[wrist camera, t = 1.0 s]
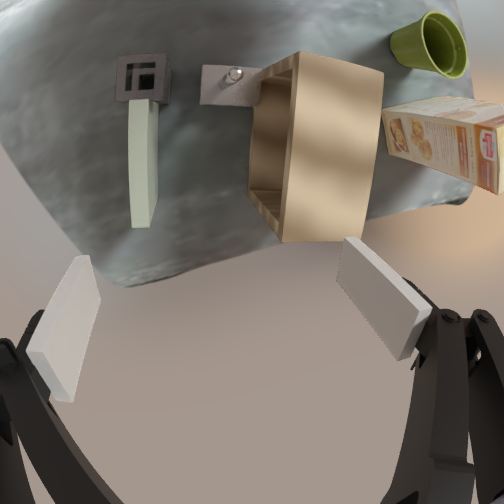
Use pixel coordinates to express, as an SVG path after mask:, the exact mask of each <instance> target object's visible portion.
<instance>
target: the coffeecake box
mask: <svg viewBox="0 0 504 504" xmlns="http://www.w3.org/2000/svg"><path fill="white" fill-rule="evenodd" d="M381 116H382V120H383V125H384V129H385V135H386V142H387V147H388V152H389V155H393V156H396V157H400V158H403V159H406V160H409V161H412V162H415V163H418V164H421V165H424V166H427V167H430V168H433V169H435V170H438V171H441V172H443V173H446V174H449V175H451V176H454V177H456V178H459V179H462V180H464V181H466V182H469V183H471V184H474V185H477V186H479V187H481V188H483V189H486V190H488V191H490V192H492V193H494V194H496V195H500V194H501V193H503V192H504V104H499V103H493V102H487V101H481V100H474V99H466V98H458V97H449V96H442V97H435V98H430V99H425V100H420V101H415V102H410V103H406V104H402V105H397V106H393V107H389V108H385V109H381Z"/></svg>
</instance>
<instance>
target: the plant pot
mask: <svg viewBox="0 0 504 504" xmlns="http://www.w3.org/2000/svg"><path fill="white" fill-rule="evenodd" d="M390 47H391V51H392V52H393V54H394V55H395V57H396V60H397V61H398V62H399V63H400V64H401V65H403V66H405V67H409V68H416V69H422V70H428V71H434V72H437V73H439V74H442V75H443V76H445V77H447V78H450V79H457V78H459V77H461V76H462V75H463V74H464V72H465V70H466V67H467V59H468V58H467V48H466V44H465V41H464V38H463V36H462V34H461V32H460V30H459V29H458V27H457V26H456V24H455V23H454V22H453V21H452V20H451V19H450V18H449V17H448V16H447V15H445V14H444V13H441V12H439V11H430V12H428V13H426V14H425V15H424V16H423V17H422V18H421V19H420V20H419V21H417V22H415V23H412V24H410V25H408V26H406V27H403V28H401V29H399V30H396V31H395V32H394V33H393V34H392V35H391V38H390Z"/></svg>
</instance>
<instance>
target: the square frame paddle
mask: <svg viewBox="0 0 504 504" xmlns="http://www.w3.org/2000/svg"><path fill="white" fill-rule="evenodd" d="M168 60H169V59H168V56H167V53H145V54H132V55H121V56H118V63H117V76H116V92H115V102H120V103H127V102H129V120H128V163H129V191H130V208H131V222H132V228H142V227H150V224H151V220H152V217H153V213H154V210H155V206H156V203H157V200H158V122H159V104H170V91H171V76H172V69H171V66H168ZM143 78H155V80H154V89H152V90H143Z"/></svg>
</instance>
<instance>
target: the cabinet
mask: <svg viewBox="0 0 504 504" xmlns="http://www.w3.org/2000/svg"><path fill="white" fill-rule="evenodd" d="M383 84H384V73H383V72H380V71H377V70H374V69H371V68H367V67H364V66H361V65H357V64H354V63H350V62H346V61H342V60H338V59H334V58H330V57H326V56H322V55H317V54H312V53H307V52H302V51H299V52H297V53H295V54H293V55H291V56H289V57H287V58H285V59H283V60H281V61H279V62H277V63H275V64H273V65H271V66H269V67H267V68H265V69H263V70H262V69H261V68H252V67H240V66H226V65H203V66H202V69H201V81H200V96H199V105H210V106H236V107H251V108H253V116H252V130H251V144H250V158H249V173H248V188H247V196H248V198H249V199H250V200H251V202H252V203H253V204H254V206H255V207H256V208H257V210H258V211H259V212H260V214H261V215H262V216H263V218H264V219H265V220H266V222H267V223H268V225H269V226H270V227H271V229H272V230H273V231H274V233H275V234H276V235H277V237H278V238H279V239H280V241H281V242H323V241H324V242H327V241H343V240H344V237H355V236H356V237H357V238H358V239H359V240H361V236H362V231H363V226H364V222H365V217H366V212H367V207H368V201H369V196H370V190H371V184H372V178H373V172H374V165H375V159H376V152H377V144H378V136H379V128H380V119H381V109H382V97H383Z"/></svg>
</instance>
